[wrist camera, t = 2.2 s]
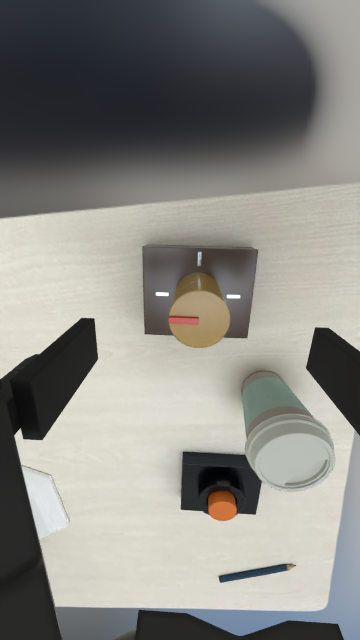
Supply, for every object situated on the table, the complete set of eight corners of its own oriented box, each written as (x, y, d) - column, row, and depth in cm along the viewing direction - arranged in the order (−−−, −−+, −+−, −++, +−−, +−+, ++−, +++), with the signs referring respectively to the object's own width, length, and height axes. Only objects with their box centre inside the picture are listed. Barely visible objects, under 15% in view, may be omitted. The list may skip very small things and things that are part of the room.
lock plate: (252, 247, 29) (258, 249, 27) (242, 328, 33) (247, 339, 30) (147, 244, 30) (142, 246, 27) (148, 325, 33) (144, 334, 30)
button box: (260, 456, 40) (267, 480, 36) (252, 501, 44) (258, 527, 40) (183, 451, 41) (181, 474, 37) (181, 496, 44) (180, 521, 40)
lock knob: (222, 273, 28) (233, 292, 20) (218, 317, 29) (227, 351, 22) (175, 271, 28) (168, 290, 20) (174, 315, 30) (167, 348, 22)
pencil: (218, 575, 51) (294, 561, 49) (220, 577, 52) (295, 564, 49) (219, 580, 51) (296, 566, 48) (220, 583, 51) (297, 569, 48)
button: (236, 490, 38) (238, 502, 36) (233, 509, 39) (235, 521, 38) (208, 488, 38) (209, 500, 36) (207, 507, 39) (207, 520, 38)
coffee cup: (236, 418, 38) (255, 500, 27) (226, 367, 35) (242, 435, 24) (297, 409, 37) (342, 490, 25) (291, 356, 34) (340, 421, 23)
